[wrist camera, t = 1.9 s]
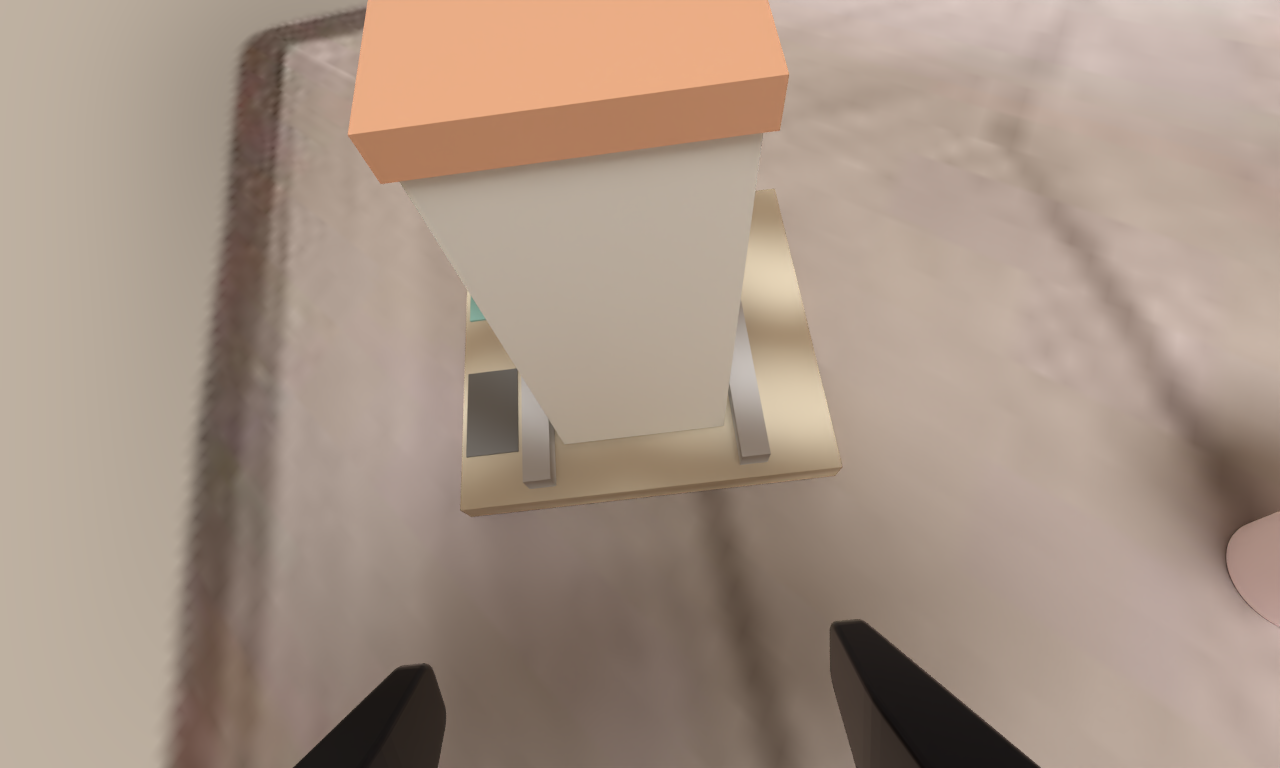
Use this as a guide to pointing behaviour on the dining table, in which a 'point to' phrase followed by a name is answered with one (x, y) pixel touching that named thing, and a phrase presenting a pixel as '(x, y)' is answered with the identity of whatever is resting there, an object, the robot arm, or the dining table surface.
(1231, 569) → the smoothie
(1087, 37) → the dining table surface
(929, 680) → the robot arm
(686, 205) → the white rectangular tower
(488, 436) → the switch base
